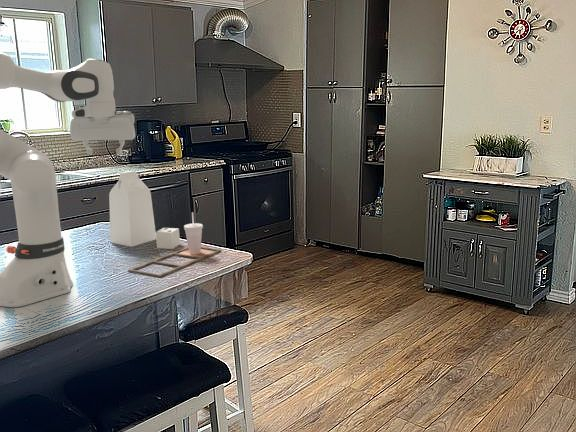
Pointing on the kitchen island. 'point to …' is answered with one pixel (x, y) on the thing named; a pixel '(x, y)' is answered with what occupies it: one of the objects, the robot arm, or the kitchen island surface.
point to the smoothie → (194, 236)
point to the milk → (131, 211)
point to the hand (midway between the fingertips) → (104, 154)
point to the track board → (182, 253)
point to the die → (168, 238)
